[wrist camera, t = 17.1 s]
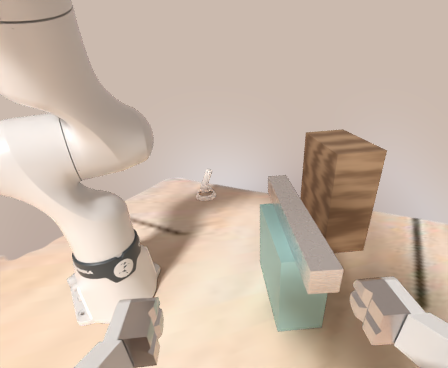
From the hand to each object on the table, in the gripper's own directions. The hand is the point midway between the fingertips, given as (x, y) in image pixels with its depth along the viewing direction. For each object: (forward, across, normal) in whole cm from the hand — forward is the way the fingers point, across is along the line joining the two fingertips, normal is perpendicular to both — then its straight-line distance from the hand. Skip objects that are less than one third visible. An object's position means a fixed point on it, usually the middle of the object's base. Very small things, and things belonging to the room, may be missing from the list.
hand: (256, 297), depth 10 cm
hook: (+72, +6, +37) cm, 82 cm away
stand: (+46, -28, +36) cm, 65 cm away
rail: (+28, -12, +19) cm, 36 cm away
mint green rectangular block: (+28, -11, +36) cm, 46 cm away
